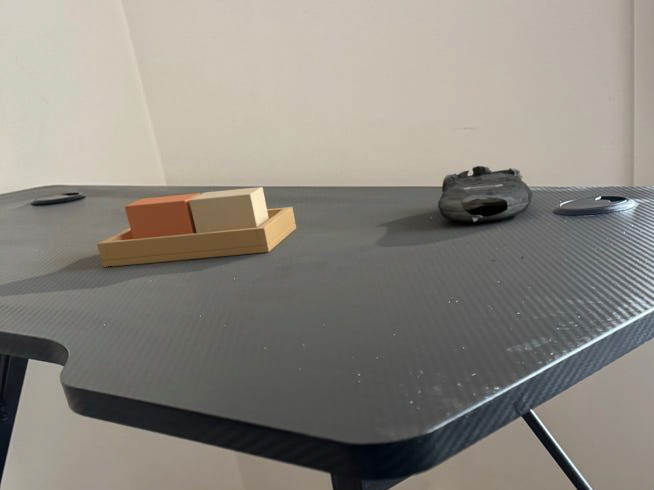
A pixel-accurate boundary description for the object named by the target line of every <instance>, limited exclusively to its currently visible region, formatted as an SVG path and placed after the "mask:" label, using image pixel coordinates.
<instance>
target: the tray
mask: <svg viewBox="0 0 654 490" xmlns="http://www.w3.org/2000/svg"><path fill="white" fill-rule="evenodd" d="M267 212H268V217H269V220H268V221H266V222H265V223H264V224H262V225H261V226H259V227H258V228H246V229H235V230H225V231H214V232H204V233H193V234H182V235H172V236H161V237H151V238H140V239H133V236H132V232H131V228H130V227H128V228H126V229H125V230H122V231H119V232H118V233H116V234H114V235H112V236H110V237H108V238H106V239H104V240H102V241H100V242H98V243H96V247H97V250H98V252H99V256H100V260H101V263H102V267H103V268H111V267H110V266H112V267H123V266H133V265H144V264H155V263H166V262H176V261H186V260H187V261H188V260H198V259H208V258H209V259H210V258H219V257H220V258H221V257H230V256H231V257H233V256H240V255H241V256H242V255H252V254H262V253H263V254H264V253H270V252H271V251H272V250H273V249H274V248H276V246H278V245H279V244H280V243H281V242H282V241H284V240H285V239H286V238H287V237H288V236H289V235H291V234H292V233H293V232H294V231H295V230H296V229H297V224H296V219H295V214H294V209H293V206H288V207H277V208H267ZM108 266H109V267H108Z"/></svg>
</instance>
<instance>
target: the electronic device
mask: <svg viewBox="0 0 654 490" xmlns="http://www.w3.org/2000/svg"><path fill="white" fill-rule="evenodd" d="M471 170H472V174H471V175H468V174H469V173H470V170H469V169H468V170H463V171H461V172H459V173H458V174H457V173H451V174H450V173H449V174H447V175H445V177H444V179H443V180H442V185H441V192H442V194H441V196H440V197H439V200H438V201H437V207H438V209H439V211H440V214H441V216H442V217H443V218H445V219H447V220H450V221H453V222H454V223H468V224H474V223H484V222H493V221H497V220H498V221H504V220H505V219H507V218H510V217H514V216H517V215H520V214H523V213H524V212H526V211H527V210H528V208H529V206H530V205H531V203H532V199H533V192H532V190H531V188H529V186H528V184H527V183H526V182H524V181H523V180H522V179H523V175H522V174H521V171H520V170H519V169H517V168H513V167H509V168H508V169H502V170H494V171H492V170H491V169H490V167H488V166H482V165H476V166H472V168H471ZM473 196H475V197H477V196H478V197H479V196H480V197H483V198H474V199H472V200H469V201H464V200H466V199H467V198H470V197H473Z"/></svg>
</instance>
